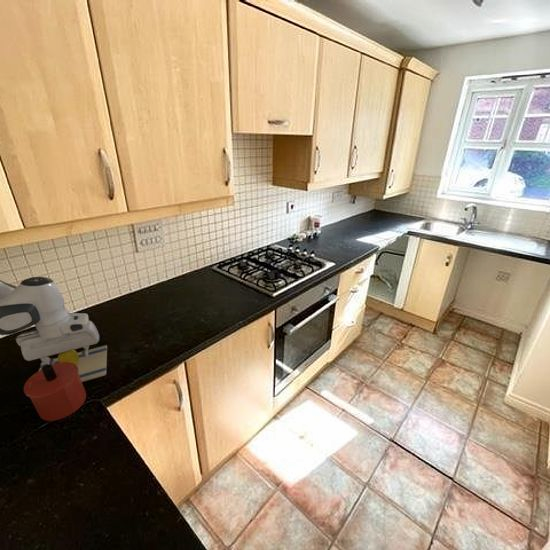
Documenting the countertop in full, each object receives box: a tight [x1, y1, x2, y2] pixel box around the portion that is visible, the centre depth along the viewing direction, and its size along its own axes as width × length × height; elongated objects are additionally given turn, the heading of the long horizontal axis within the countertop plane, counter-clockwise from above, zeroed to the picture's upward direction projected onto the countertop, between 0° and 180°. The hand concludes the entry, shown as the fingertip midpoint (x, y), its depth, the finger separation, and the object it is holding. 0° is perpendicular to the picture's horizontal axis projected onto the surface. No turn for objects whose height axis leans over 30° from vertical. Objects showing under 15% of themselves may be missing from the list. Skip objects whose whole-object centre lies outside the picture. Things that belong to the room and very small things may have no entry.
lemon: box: [57, 349, 79, 365], centre depth 98 cm, size 6×6×8 cm
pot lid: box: [23, 362, 78, 398], centre depth 83 cm, size 13×13×5 cm
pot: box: [29, 374, 87, 422], centre depth 86 cm, size 12×12×10 cm
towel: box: [38, 344, 108, 383], centre depth 100 cm, size 20×16×1 cm
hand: (69, 360), depth 98 cm, fingers open, 8 cm apart
